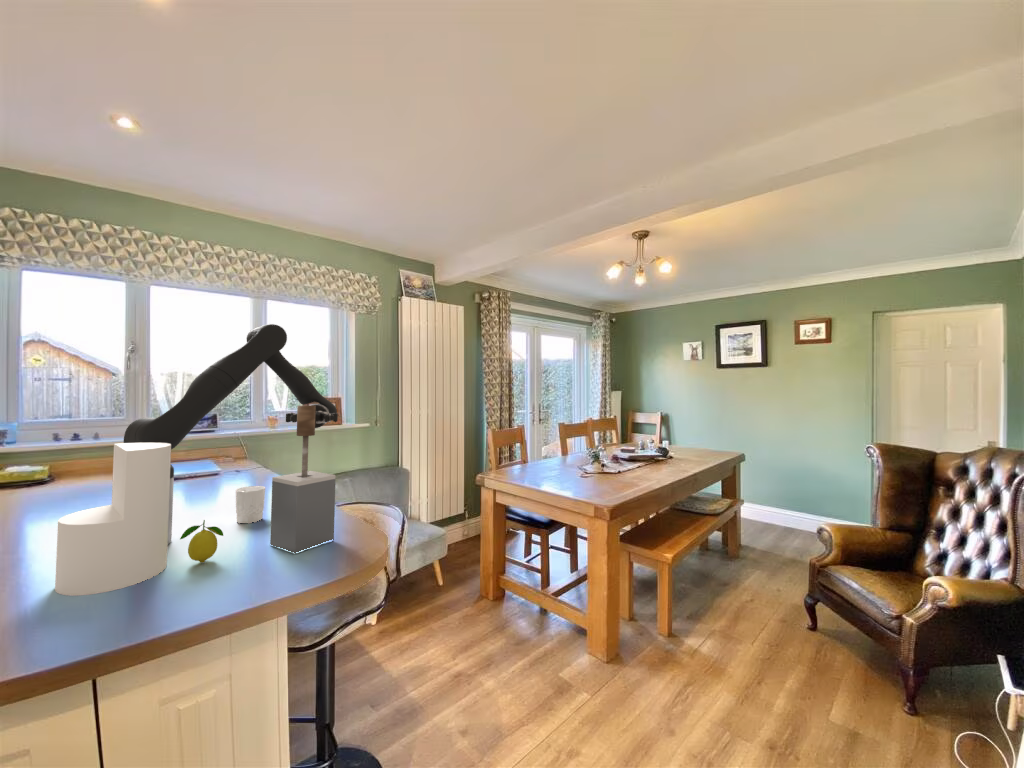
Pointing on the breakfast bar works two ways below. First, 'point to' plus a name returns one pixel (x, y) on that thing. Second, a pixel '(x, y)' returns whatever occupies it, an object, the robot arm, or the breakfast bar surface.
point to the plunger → (305, 431)
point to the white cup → (250, 504)
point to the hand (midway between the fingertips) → (310, 418)
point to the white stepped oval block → (119, 527)
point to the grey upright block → (302, 510)
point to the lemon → (202, 542)
